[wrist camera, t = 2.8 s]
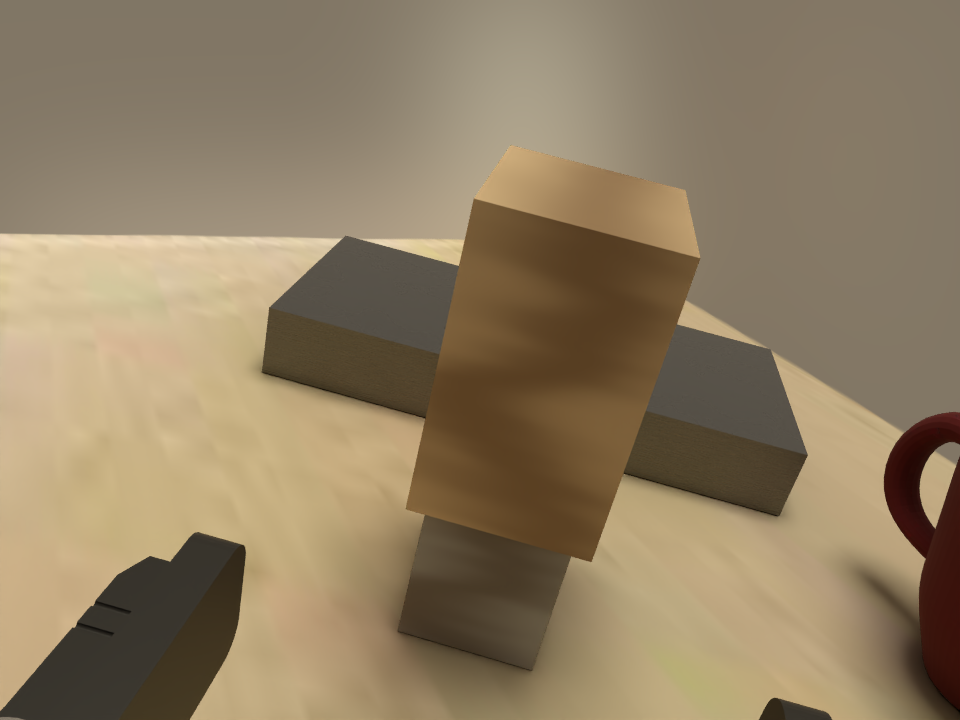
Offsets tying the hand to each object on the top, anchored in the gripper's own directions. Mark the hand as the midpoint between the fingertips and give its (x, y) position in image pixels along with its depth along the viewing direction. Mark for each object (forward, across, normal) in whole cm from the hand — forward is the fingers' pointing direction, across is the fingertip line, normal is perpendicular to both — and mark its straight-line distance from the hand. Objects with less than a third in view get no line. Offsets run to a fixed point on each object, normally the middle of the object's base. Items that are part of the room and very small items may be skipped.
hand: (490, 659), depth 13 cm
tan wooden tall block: (+11, 0, +9) cm, 14 cm away
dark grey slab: (+25, 0, +8) cm, 27 cm away
